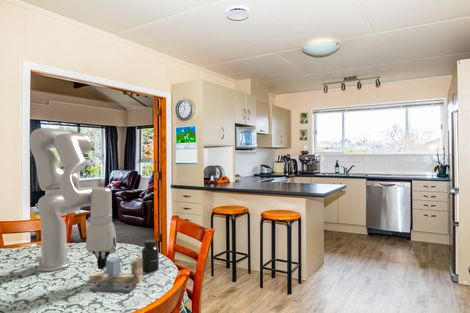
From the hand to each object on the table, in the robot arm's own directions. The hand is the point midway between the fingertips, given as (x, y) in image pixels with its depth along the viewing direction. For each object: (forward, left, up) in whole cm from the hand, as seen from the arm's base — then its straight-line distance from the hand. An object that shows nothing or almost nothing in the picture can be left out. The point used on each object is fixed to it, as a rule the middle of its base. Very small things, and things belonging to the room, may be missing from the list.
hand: (102, 267), depth 121 cm
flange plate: (+9, -8, -4) cm, 12 cm away
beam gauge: (+6, -3, -5) cm, 8 cm away
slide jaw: (+4, -3, -2) cm, 6 cm away
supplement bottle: (+14, +12, -5) cm, 19 cm away
